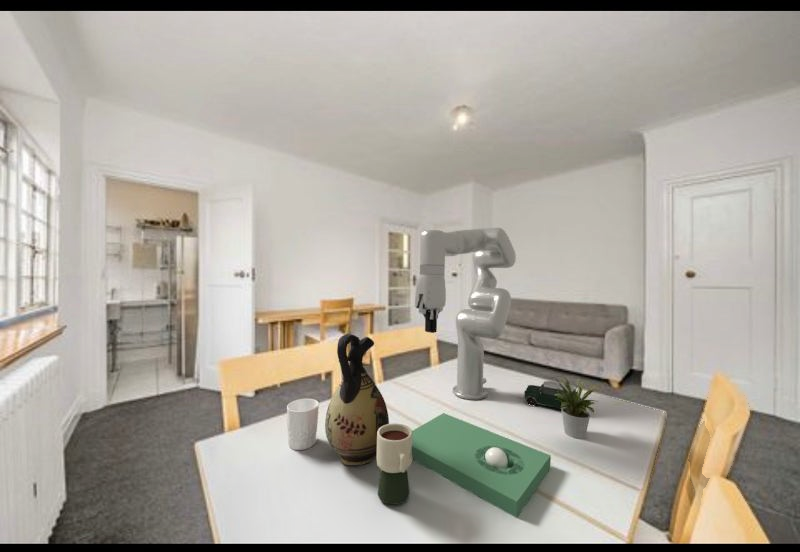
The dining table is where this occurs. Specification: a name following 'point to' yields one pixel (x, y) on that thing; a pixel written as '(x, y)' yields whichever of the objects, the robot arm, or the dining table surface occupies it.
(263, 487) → the dining table surface
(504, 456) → the golf ball
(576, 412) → the house plant
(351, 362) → the ceramic jug
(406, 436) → the character mug
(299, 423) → the white cup
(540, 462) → the board
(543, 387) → the miniature car
